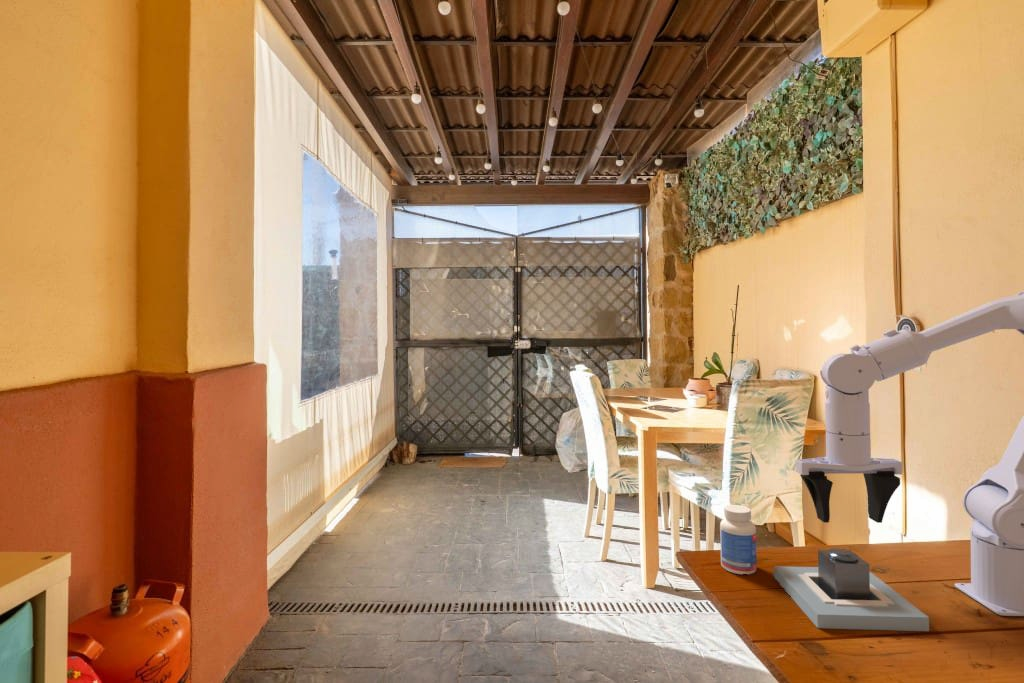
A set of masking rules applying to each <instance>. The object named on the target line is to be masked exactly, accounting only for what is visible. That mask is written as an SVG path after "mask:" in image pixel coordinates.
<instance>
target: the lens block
mask: <svg viewBox="0 0 1024 683" xmlns="http://www.w3.org/2000/svg"><path fill="white" fill-rule="evenodd" d="M817 556H818V557H817V567H818V581H819V588H820V589H821V590H822V591H824V592H825V593H826V594H827V595H828V596H829V597H830V598H831V599H836V600H870V574H869V571H870V563H869V562H867V561H866V560H865V559H863V558H861V557H860V556H859V555H858V554H857V553H856V552H854V551H852V550H851V549H843V548H829V549H817Z"/></svg>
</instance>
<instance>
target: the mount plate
mask: <svg viewBox="0 0 1024 683" xmlns="http://www.w3.org/2000/svg"><path fill="white" fill-rule="evenodd" d="M869 574H870V600H836V599H831V598H830V597H829V596H828V595H827V594H826V593H825V592H824V591H822V590H821V589H820V588H819V581H818V566H781V565H780V566H774V565H773V579H775V581H776V580H777V581H778V582H779V583H780V584H779V583H778V582H777V581H776V582H777V583H778V584H779V585H780V586H781V587H782V589H783V588H784V589H785V590H784V589H783V590H784V591H785V592H786V593H787V595H788V596H789V595H790V596H791V597H790V596H789V597H790V598H791V599H792V600H793V602H794V603H795V604H796V605H797V606H798V607H799V608H800V610H801V611H802V612H803V613H804V614H805V615H806V616H807V618H808V619H809V620H810V621H811V622H812V623H813V625H814V626H815V627H816V628H817V629H831V630H832V629H834V630H836V629H837V630H868V631H869V630H870V631H906V632H914V631H915V632H929V631H930V617H929V616H928V615H927V614H925V612H922V611H921V610H920V609H919V608H917V607H916V606H915V605H914V604H913V603H911V602H910V601H908V600H907V599H906V598H904V596H902V595H901V594H900V593H898V592H897V591H896V590H894V589H893V588H892V587H890V586H889V585H888V584H887V583H886V582H884V581H883V580H881V578H879V577H877V576H876V575H875V574H874V573H872V571H870V570H869Z"/></svg>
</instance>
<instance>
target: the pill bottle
mask: <svg viewBox="0 0 1024 683" xmlns="http://www.w3.org/2000/svg"><path fill="white" fill-rule="evenodd" d="M723 512H724V513H723V514H724V517H725V518H724V519H722V520H721V521H720V524H719V532H720V534H719V535H720V565H721V567H722V568H723V569H724V570H726V571H728V572H730V573H732V574H737V575H743V574H747V575H752V574H754V573H755V572H756V571H757V567H758V566H757V565H758V562H757V557H758V556H757V528H756V527H757V526H755V523H754V522H752V521H751V519H752V510H751V508H749V507H748V506H744V505H741V504H728V505H725V506H724V509H723Z"/></svg>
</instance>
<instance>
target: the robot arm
mask: <svg viewBox="0 0 1024 683" xmlns="http://www.w3.org/2000/svg"><path fill="white" fill-rule="evenodd" d="M996 330H997V331H998V330H1016V332H1018V333H1020V334H1021V335H1023V336H1024V290H1023V291H1020V292H1019V293H1016V294H1015V295H1009V296H1006V297H1005V296H1004V297H1001V298H997V299H994V300H992V301H989V302H986V303H983V304H982V305H979V306H977V307H975V308H972V309H970V310H968V311H965V312H963V313H960V314H958V315H956V316H954V317H951V318H949V319H947V320H944V321H942V322H940V323H938V324H936V325H933V326H931V327H929V328H925V329H923V330H921V331H919V332H916V331H912V330H909V329H903V328H902V329H900V330H898V331H897V330H896V329H895V328H893V329H888V330H887V331H884V332H883V333H882V334H883V337H881V338H878V339H876V340H873V341H870V342H868V343H866V344H863V345H861V346H859V344H854V345H852V346H849V349H850V353H843V352H842V353H837V354H834V355H832V356H830V357H828V358H827V359H826V361H825V362H823V364H822V367H821V370H820V371H819V372H820V377H821V379H822V381H823V383H824V384H826V385H825V402H824V416H825V417H824V419H825V420H824V421H825V424H824V425H825V456H822V457H821V456H820V457H814V458H813V457H812V458H805V459H802V458H801V459H795V472H796V473H797V474H799V475H800V477H801V479H802V480H803V483H804V485H805V486H806V488H807V490H808V492H809V494H810V497H811V499H812V502H813V505H814V509H815V512H816V517H817V519H819V520H820V521H821V522H822V523H827V524H828V523H830V516H831V514H830V501H831V500H830V498H831V493H832V492H831V491H832V487H833V484H834V482H832V481H831V480H830V479H828V477H827V475H828V474H832V475H833V474H834V475H835V474H841V475H842V474H845V475H847V474H863V477H864V481H865V487H866V493H867V512H868V518H869V519H870V520H872V521H873V522H875V523H877V524H878V523H879V524H882V523H883V519H884V517H885V512H886V510H887V507H888V504H889V503H890V502H889V501H890V500H891V497H892V496H893V495H894V493H895V492H896V490H897V489H898V488H899V487H900V485H901V478H900V477H898V476H897V475H903V461H900V460H899V459H896V458H881V457H880V458H879V457H872V455H871V450H872V448H871V444H872V442H871V405H870V402H869V400H870V398H869V390H870V389H871V388H872V386H873V385H874V384H875V382H882V381H884V380H888V379H889V378H892V377H894V376H898V375H901V374H903V373H906V372H908V371H911V370H914V369H916V368H919V367H921V366H924V365H926V364H927V362H928V361H929V358H930V357H931V354H932V353H933V352H935V351H939V350H941V349H945V348H946V347H950V346H953V345H956V344H959V343H962V342H965V341H968V340H970V339H974V338H976V337H979V336H982V335H985V334H989V333H991V332H994V331H996ZM1019 421H1020V422H1019V423H1018V425H1017V427H1016V429H1015V431H1014V434H1012V436H1011V439H1010V441H1009V443H1008V445H1007V447H1006V449H1005V451H1004V453H1003V455H1002V457H1001V458H1000V461H999V463H998V464H996V465H994V466H992V467H990V468H989V469H987V470H985V471H984V472H983V474H982V476H981V477H980V479H979V480H978V481H977V482H976V483H974V484H972V485H971V486H969V487H968V488H967V489H966V490H965V492H964V494H963V496H962V507H963V508H964V511H965V512H966V513H967V514H968V515H969V517H971V518H972V524H971V526H970V528H969V529H970V582H966V583H965V582H955V583H954V587H955V588H956V589H958V590H960V591H961V592H963V593H964V594H966V595H967V596H969V597H970V598H972V599H973V600H975V601H977V602H978V603H980V604H981V605H983V606H984V607H986V608H987V609H989V610H990V611H992V612H993V613H995V614H997V615H998V616H1003V617H1004V616H1006V617H1007V616H1008V617H1024V414H1023V415H1022V417H1021V419H1020V420H1019ZM826 474H827V475H826Z"/></svg>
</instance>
